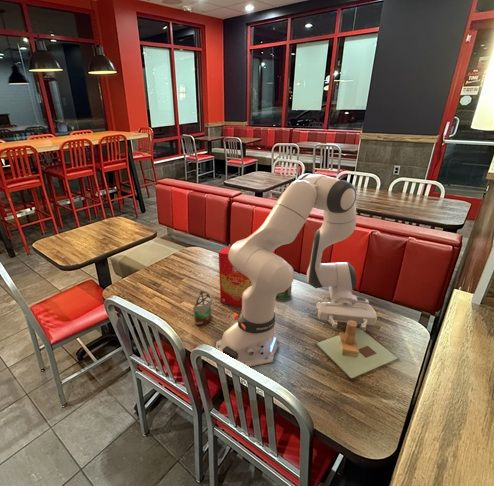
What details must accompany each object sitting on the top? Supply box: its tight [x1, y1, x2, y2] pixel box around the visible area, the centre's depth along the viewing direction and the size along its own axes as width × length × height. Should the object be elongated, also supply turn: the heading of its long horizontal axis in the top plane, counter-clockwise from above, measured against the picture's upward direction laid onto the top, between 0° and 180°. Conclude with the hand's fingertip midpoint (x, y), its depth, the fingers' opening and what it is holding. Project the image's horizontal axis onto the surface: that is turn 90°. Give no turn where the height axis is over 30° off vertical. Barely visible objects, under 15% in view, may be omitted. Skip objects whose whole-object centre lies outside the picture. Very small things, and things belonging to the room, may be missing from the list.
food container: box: [192, 289, 213, 326], centre depth 127 cm, size 12×6×10 cm, turn 168°
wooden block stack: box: [338, 320, 359, 357], centre depth 108 cm, size 9×5×10 cm, turn 167°
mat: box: [316, 327, 398, 379], centre depth 108 cm, size 20×17×1 cm
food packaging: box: [218, 247, 252, 308], centre depth 132 cm, size 15×5×25 cm, turn 66°
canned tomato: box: [275, 283, 293, 302], centre depth 138 cm, size 8×8×11 cm
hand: (349, 327), depth 109 cm, fingers open, 8 cm apart
